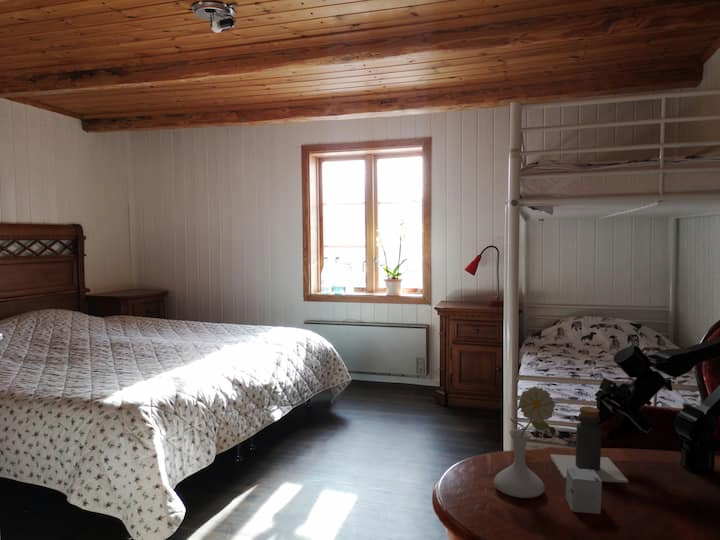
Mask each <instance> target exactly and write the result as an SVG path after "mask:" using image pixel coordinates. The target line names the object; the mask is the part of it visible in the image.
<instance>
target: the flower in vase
mask: <svg viewBox="0 0 720 540" xmlns="http://www.w3.org/2000/svg"><path fill="white" fill-rule="evenodd" d="M521 393H522V394H521V395H520V396H521V397H520V398H519V402H518V408H520V412H521V413H523V414H522V416H523V417H524V418H527V419H529V420H530V421H529V422H528V423H527V424H526V425H525V426H524V425H523V424H522V423H520V422H517V421H515V420H513V419H512V418H511V417H509V418H510V421H511V422H512V423H514V424H516V425H518V426H520V427H522V428H524V429H511V430H509V432H508V433H509V435H510V437H511V438H512V440H513V446H514V459H513V463H512V464H511V465H510V466H508V467H506V468H504V469H503V470H501V471H499V472H498V473H497V474H496V475H495V477H494V479H493V484H494V486H495V487H496V489H497V490H498V491H499V492H501V493H503V494H504V495H505V494H506V495H508V496H511V497H515V498H521V499H531V498H537V497H540V496H541V495H542V494H543V493H544V492H545V490H546V488H545V484H544V482H543V480H542V479H541V478H540V477H539V476H538V475H537V474H536V473H535V472H533V471H532V470H531V469H530V468H529V467H528V465H527V464H526V449H527V443H528V441H529V440H530V438H531V437H532V436H533V435H532V432H530V431H527V429H528V427H529V426H530V425H532V427H533V428H534V429H535V430H536V431H546V430H549V429H551V426H550V425H549V424H548V423H547V422H546V421H547V420H549V419H551V418H553V413H554V412H555V407H556V405H555V404H556V403H555V401H554V400H553V396H550V395H551V394H550V392H548V391H547V390H546V389H545V390H544V389H543V387H542V388H541V387H537V386H533V387H531V388H530V387H529V388H528V389H527V390H525V391H522V392H521Z"/></svg>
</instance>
